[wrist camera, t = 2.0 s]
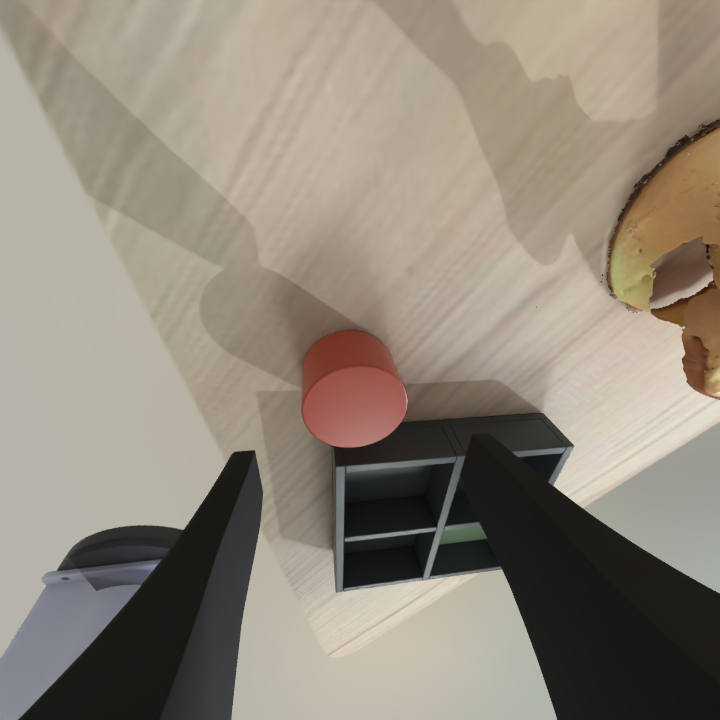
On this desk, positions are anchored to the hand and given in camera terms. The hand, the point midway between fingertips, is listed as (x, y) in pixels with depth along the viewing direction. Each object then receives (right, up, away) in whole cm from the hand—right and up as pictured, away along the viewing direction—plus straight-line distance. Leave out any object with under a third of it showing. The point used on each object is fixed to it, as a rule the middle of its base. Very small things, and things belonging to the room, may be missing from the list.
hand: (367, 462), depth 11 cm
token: (-1, +3, +5) cm, 6 cm away
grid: (+4, -5, +11) cm, 13 cm away
